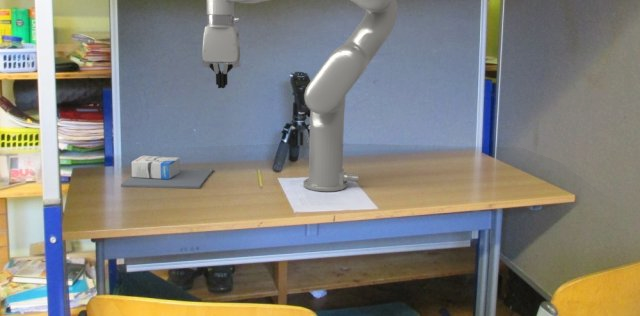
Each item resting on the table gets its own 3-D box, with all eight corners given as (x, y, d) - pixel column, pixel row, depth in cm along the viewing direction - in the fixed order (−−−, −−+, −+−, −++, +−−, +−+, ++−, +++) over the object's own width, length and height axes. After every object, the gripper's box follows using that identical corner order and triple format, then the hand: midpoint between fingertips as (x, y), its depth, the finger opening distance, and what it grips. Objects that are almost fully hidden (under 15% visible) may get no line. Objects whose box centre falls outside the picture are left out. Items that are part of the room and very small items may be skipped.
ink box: (169, 163, 187) (130, 161, 188) (169, 180, 188) (130, 177, 189) (179, 157, 195) (142, 154, 196) (180, 173, 196) (142, 170, 198)
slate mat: (213, 170, 201) (213, 168, 201) (199, 188, 182) (199, 186, 182) (142, 169, 202) (142, 167, 202) (121, 186, 182) (121, 184, 182)
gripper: (249, 21, 184) (250, 86, 189) (196, 20, 185) (198, 85, 189) (245, 22, 177) (246, 89, 181) (190, 21, 177) (192, 88, 182)
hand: (221, 87), depth 185 cm, fingers closed
